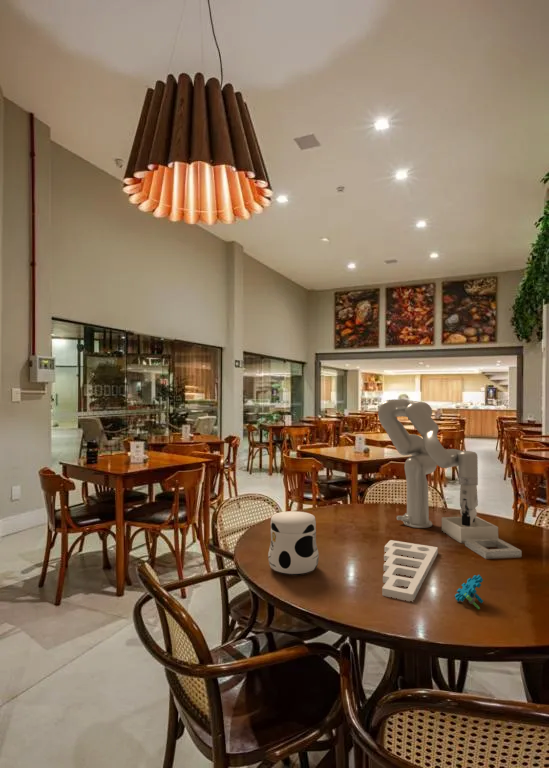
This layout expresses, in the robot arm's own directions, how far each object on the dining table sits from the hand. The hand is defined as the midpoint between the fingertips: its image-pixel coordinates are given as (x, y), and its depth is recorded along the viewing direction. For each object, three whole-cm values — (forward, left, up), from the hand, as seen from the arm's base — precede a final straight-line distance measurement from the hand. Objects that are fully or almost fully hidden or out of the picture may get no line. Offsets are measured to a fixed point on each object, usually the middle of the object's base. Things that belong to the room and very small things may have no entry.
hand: (468, 523), depth 188 cm
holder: (-43, -30, -6) cm, 53 cm away
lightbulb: (0, 0, -3) cm, 3 cm away
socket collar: (-1, -18, -5) cm, 19 cm away
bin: (0, 0, -5) cm, 5 cm away
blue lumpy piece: (-32, -56, -6) cm, 65 cm away
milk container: (-79, -26, -6) cm, 83 cm away
